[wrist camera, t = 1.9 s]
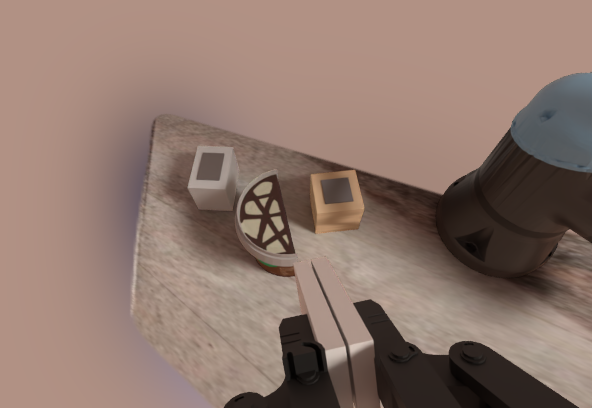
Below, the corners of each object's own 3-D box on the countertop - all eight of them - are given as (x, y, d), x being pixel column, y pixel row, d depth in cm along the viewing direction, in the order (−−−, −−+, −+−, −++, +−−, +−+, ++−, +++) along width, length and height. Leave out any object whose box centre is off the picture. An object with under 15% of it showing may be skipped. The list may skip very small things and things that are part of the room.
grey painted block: (239, 171, 55) (232, 146, 49) (232, 211, 51) (224, 188, 46) (207, 170, 55) (197, 144, 50) (198, 209, 51) (186, 186, 46)
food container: (238, 213, 51) (225, 174, 42) (280, 205, 52) (276, 164, 43) (251, 297, 45) (239, 271, 36) (298, 286, 46) (298, 258, 37)
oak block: (349, 193, 53) (355, 168, 47) (357, 229, 50) (364, 207, 44) (309, 197, 52) (310, 173, 47) (315, 234, 49) (317, 212, 44)
